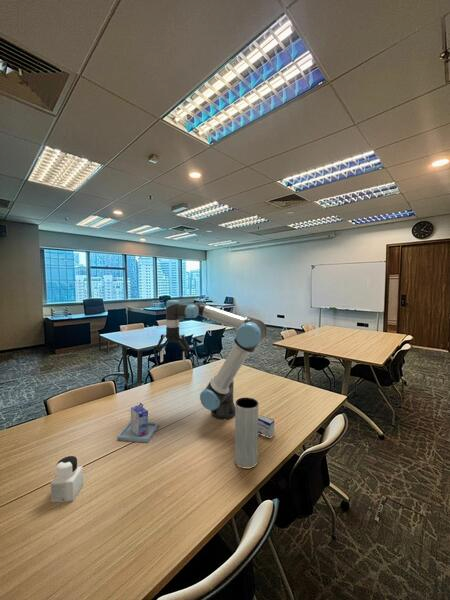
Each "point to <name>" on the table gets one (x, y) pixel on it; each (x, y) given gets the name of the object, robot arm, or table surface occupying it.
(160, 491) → the table surface
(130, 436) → the tray
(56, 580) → the table surface
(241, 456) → the vase
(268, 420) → the box
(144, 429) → the ink cartridge box
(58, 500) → the container
